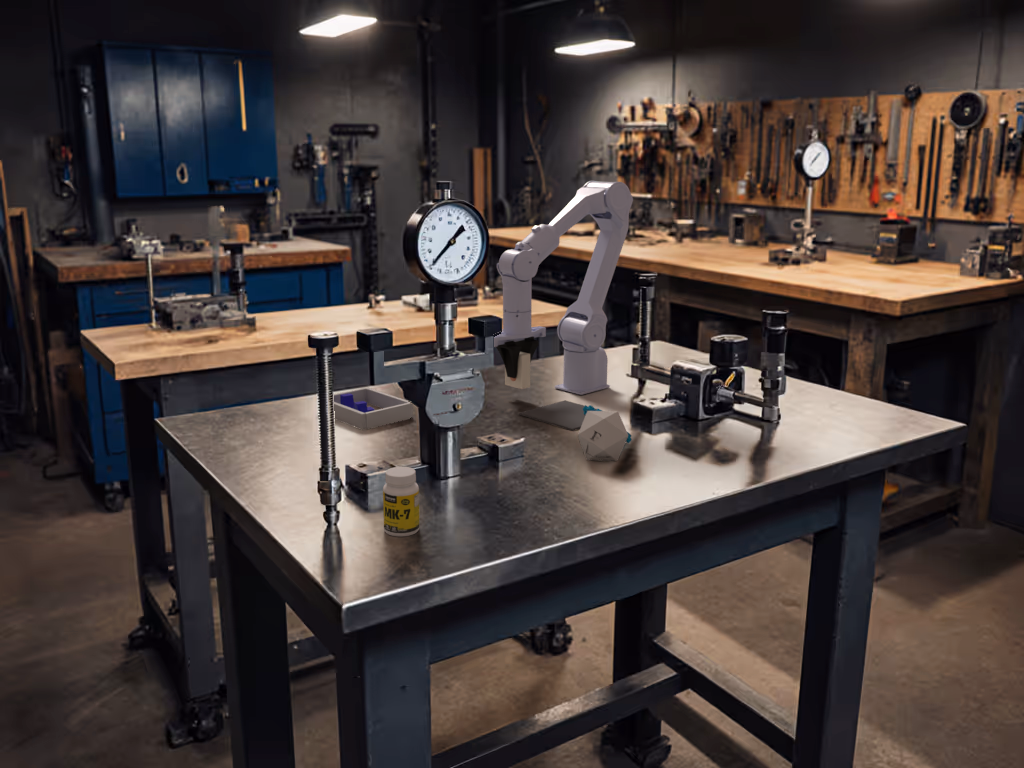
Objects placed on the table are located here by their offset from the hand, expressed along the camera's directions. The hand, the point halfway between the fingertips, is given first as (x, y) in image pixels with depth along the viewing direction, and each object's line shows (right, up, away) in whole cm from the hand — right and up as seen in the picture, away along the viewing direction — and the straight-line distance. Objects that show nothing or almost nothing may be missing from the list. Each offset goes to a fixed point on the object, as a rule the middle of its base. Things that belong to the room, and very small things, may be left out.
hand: (517, 375), depth 179 cm
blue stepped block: (-31, -8, -11) cm, 34 cm away
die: (+14, -14, -33) cm, 38 cm away
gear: (+15, -12, -26) cm, 32 cm away
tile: (0, -2, +1) cm, 2 cm away
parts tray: (-29, -8, -10) cm, 32 cm away
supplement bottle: (-16, -22, -61) cm, 67 cm away
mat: (+10, -8, -10) cm, 16 cm away
